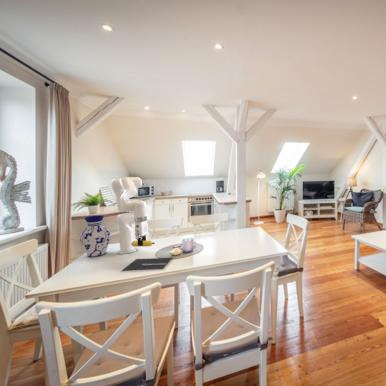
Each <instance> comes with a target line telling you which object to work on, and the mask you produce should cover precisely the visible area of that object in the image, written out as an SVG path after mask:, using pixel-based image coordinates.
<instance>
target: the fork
mask: <svg viewBox="0 0 386 386" xmlns="http://www.w3.org/2000/svg"><path fill="white" fill-rule="evenodd" d="M165 264H166V263H164V264H142V265H141V266H148V265H165Z"/></svg>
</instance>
